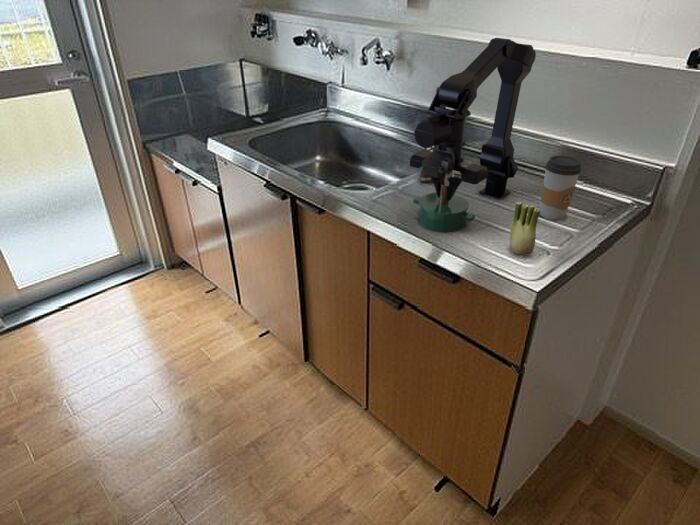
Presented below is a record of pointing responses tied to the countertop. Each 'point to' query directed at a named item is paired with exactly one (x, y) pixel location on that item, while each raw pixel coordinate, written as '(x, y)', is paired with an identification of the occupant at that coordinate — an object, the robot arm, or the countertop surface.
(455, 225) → the pot
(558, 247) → the countertop surface
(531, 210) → the fennel bulb
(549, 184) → the coffee cup
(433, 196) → the lid
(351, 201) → the countertop surface
